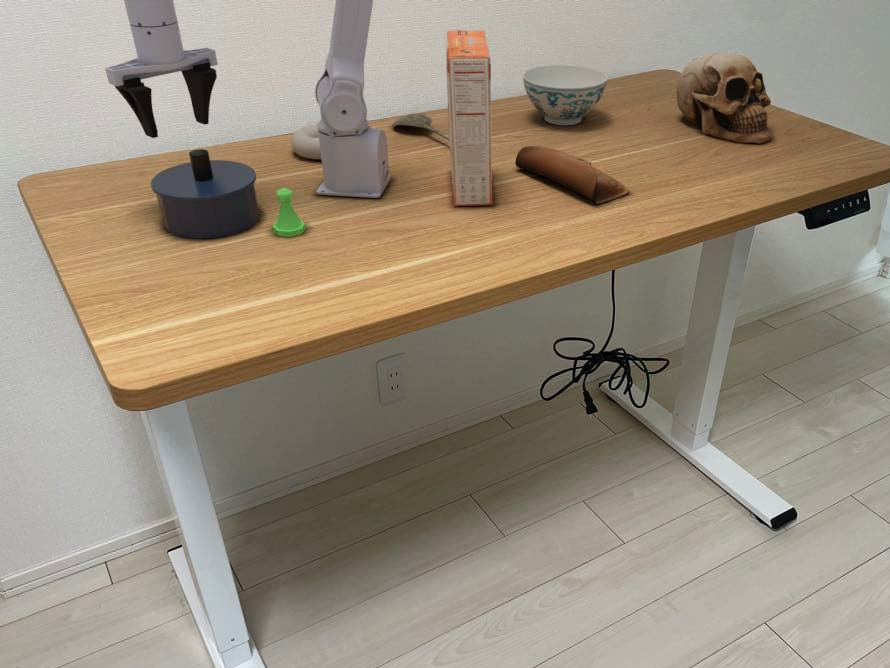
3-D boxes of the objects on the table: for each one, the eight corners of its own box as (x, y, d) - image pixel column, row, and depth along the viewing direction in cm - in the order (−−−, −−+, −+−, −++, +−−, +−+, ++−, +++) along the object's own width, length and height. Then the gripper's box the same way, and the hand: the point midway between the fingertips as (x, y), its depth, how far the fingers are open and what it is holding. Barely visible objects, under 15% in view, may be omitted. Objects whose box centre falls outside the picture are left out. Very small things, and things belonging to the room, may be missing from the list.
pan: (258, 198, 122) (252, 161, 119) (259, 234, 113) (252, 195, 110) (168, 205, 120) (159, 168, 116) (161, 242, 110) (151, 203, 107)
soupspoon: (418, 123, 153) (387, 132, 150) (416, 104, 151) (384, 113, 148) (488, 155, 138) (454, 164, 135) (486, 134, 136) (452, 144, 133)
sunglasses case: (634, 189, 127) (621, 156, 121) (603, 222, 125) (589, 190, 120) (553, 155, 138) (539, 124, 132) (525, 185, 136) (509, 155, 131)
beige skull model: (771, 145, 145) (777, 62, 138) (669, 145, 149) (670, 65, 142) (772, 120, 157) (779, 44, 150) (679, 121, 162) (680, 47, 155)
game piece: (272, 225, 115) (265, 183, 111) (304, 222, 116) (298, 180, 112) (273, 238, 112) (266, 195, 108) (307, 235, 113) (301, 192, 109)
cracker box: (449, 171, 132) (444, 29, 120) (488, 171, 133) (487, 29, 120) (451, 207, 121) (445, 54, 109) (493, 207, 122) (492, 54, 109)
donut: (282, 160, 135) (341, 165, 133) (278, 139, 133) (338, 143, 131) (307, 140, 143) (363, 144, 141) (304, 119, 141) (361, 123, 139)
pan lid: (256, 164, 120) (251, 132, 117) (257, 201, 110) (251, 166, 107) (156, 171, 117) (148, 138, 114) (147, 209, 107) (138, 174, 104)
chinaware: (606, 134, 148) (610, 88, 144) (521, 131, 148) (522, 86, 144) (601, 107, 160) (604, 65, 156) (522, 105, 160) (523, 63, 156)
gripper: (187, 8, 114) (208, 110, 122) (82, 26, 105) (112, 135, 113) (217, 17, 110) (236, 121, 118) (111, 35, 101) (139, 147, 109)
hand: (177, 129), depth 115 cm, fingers open, 7 cm apart
